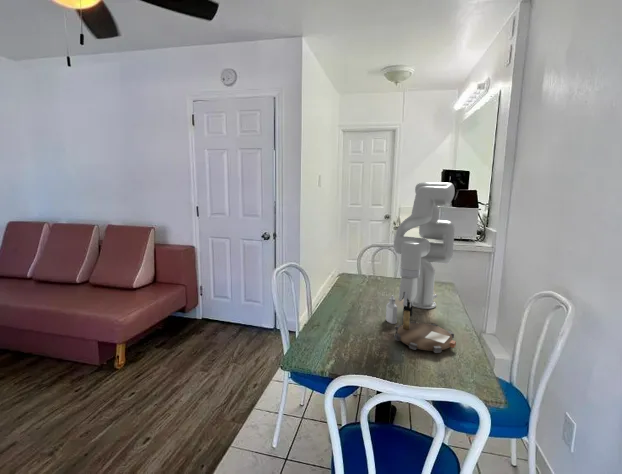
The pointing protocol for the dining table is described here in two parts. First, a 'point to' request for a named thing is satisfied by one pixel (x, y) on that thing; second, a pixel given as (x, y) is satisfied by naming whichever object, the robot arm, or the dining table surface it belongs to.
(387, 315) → the eye dropper bottle
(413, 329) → the sprocket
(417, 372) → the dining table surface
